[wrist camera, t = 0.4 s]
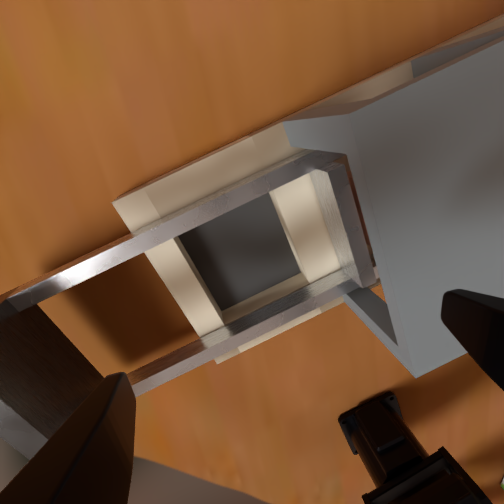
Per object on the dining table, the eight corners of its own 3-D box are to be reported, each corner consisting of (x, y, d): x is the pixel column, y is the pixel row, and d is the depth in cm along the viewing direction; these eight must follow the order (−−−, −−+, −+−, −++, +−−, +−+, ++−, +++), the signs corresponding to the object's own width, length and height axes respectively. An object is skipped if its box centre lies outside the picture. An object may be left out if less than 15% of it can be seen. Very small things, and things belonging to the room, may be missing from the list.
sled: (451, 227, 23) (536, 258, 17) (98, 400, 22) (68, 489, 16) (433, 88, 18) (536, 69, 13) (-4, 296, 18) (-88, 369, 12)
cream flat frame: (552, 181, 26) (580, 185, 24) (215, 347, 25) (217, 364, 23) (558, -13, 20) (595, -28, 18) (119, 196, 19) (111, 202, 17)
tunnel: (458, 246, 24) (579, 296, 16) (344, 301, 23) (415, 378, 16) (433, 49, 18) (604, -8, 10) (282, 121, 18) (349, 113, 10)
